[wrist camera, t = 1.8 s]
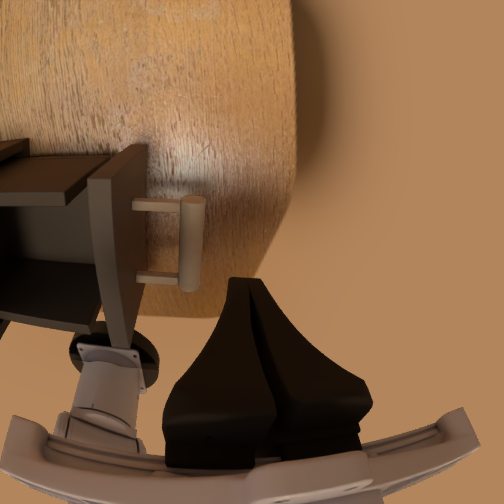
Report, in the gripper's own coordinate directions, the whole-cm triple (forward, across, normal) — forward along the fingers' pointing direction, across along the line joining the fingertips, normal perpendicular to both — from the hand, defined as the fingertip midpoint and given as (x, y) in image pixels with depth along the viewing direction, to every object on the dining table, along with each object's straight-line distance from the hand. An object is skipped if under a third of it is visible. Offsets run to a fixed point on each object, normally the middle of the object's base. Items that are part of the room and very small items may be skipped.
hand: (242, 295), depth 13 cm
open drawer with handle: (+9, +11, +1) cm, 14 cm away
